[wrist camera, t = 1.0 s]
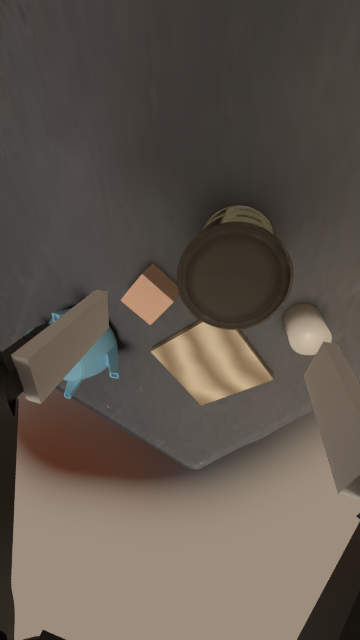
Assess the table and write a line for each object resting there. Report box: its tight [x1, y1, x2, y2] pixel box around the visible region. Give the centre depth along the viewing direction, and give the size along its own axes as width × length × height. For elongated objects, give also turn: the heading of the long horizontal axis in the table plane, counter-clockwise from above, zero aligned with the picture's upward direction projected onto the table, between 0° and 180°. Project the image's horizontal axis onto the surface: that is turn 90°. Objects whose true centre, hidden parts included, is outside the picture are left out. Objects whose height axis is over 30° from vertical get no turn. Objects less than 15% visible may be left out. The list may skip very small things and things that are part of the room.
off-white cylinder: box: [283, 303, 332, 355], centre depth 34 cm, size 5×5×6 cm
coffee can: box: [177, 206, 293, 330], centre depth 28 cm, size 10×10×14 cm
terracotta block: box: [121, 264, 179, 325], centre depth 38 cm, size 6×6×5 cm
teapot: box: [25, 309, 119, 399], centre depth 44 cm, size 15×15×11 cm
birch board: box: [151, 320, 274, 405], centre depth 44 cm, size 16×16×2 cm
